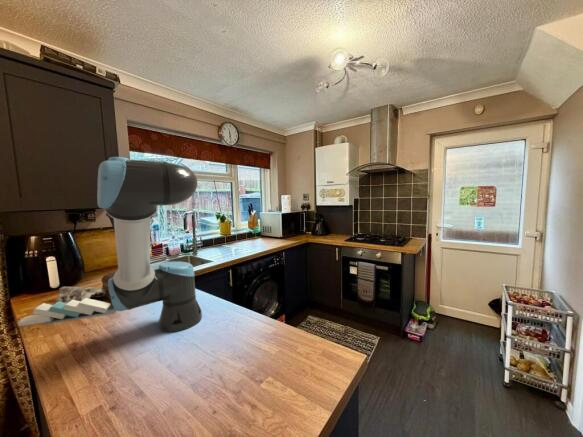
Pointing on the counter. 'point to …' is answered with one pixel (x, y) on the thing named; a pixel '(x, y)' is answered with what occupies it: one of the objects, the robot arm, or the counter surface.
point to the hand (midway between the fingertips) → (128, 250)
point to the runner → (82, 316)
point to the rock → (78, 293)
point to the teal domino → (60, 309)
